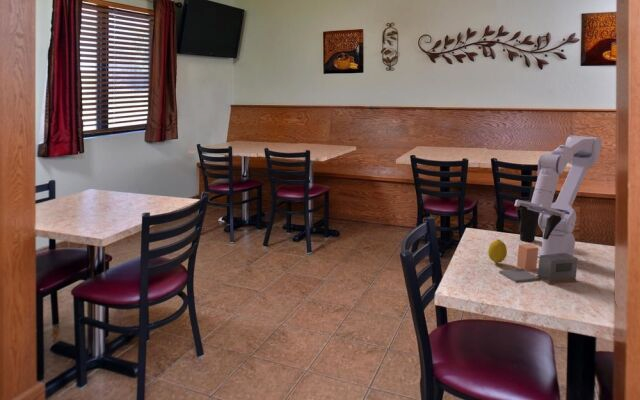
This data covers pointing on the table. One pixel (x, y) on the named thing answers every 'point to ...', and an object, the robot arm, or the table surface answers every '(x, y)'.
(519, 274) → the mat
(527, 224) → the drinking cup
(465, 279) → the table surface
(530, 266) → the terracotta block
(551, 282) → the parts unit
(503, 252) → the lemon
